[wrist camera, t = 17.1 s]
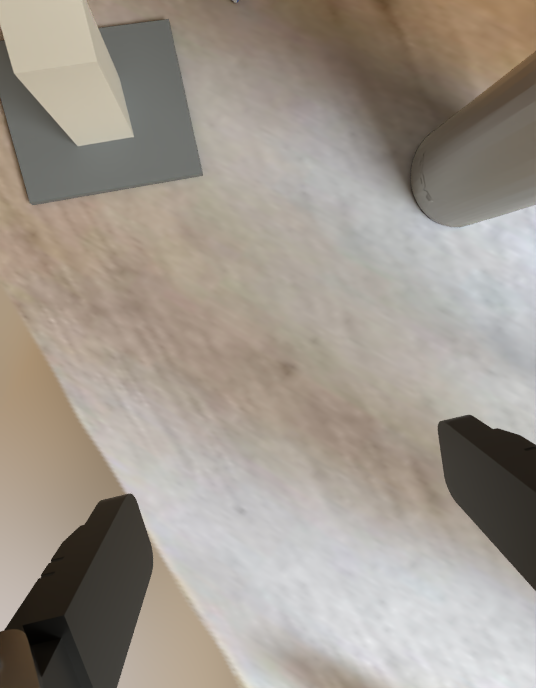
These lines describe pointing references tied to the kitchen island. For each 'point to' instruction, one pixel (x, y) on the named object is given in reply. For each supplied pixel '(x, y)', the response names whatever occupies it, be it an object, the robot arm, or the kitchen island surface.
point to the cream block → (66, 67)
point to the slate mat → (117, 155)
